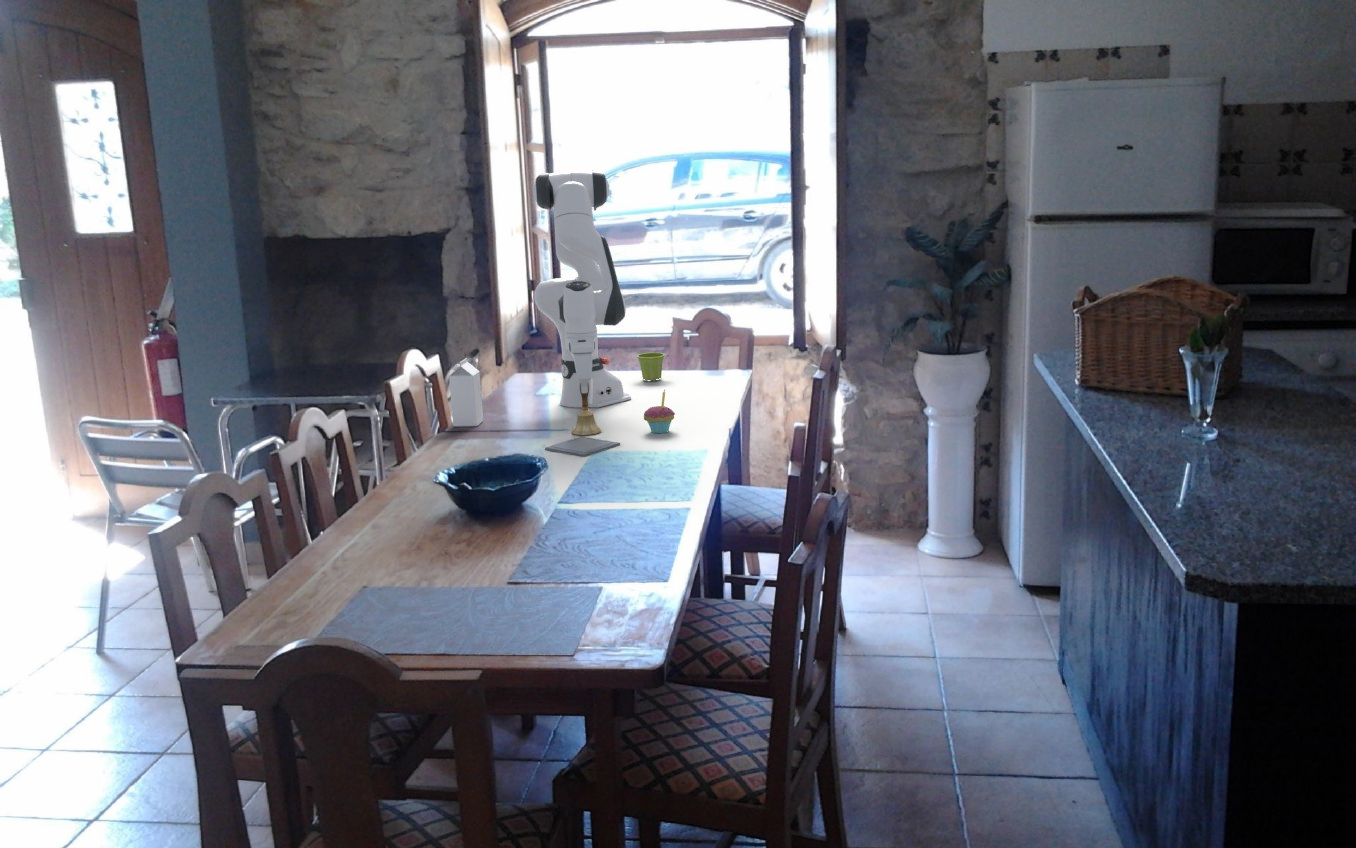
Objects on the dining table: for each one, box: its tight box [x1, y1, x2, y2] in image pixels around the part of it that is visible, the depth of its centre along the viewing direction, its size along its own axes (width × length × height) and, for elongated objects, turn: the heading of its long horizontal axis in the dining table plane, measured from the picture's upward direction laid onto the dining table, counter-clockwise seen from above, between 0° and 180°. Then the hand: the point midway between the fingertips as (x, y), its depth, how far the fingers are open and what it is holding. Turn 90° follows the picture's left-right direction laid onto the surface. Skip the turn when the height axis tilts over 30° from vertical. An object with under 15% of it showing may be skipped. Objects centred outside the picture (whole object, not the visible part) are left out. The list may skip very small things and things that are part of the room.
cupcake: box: [643, 389, 676, 434], centre depth 320 cm, size 9×8×12 cm
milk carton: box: [448, 357, 484, 427], centre depth 337 cm, size 7×7×19 cm
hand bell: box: [571, 383, 602, 436], centre depth 322 cm, size 8×8×16 cm
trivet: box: [544, 435, 621, 458], centre depth 307 cm, size 14×14×1 cm
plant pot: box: [636, 352, 665, 381], centre depth 394 cm, size 9×9×9 cm
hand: (584, 391), depth 321 cm, fingers closed on hand bell, 3 cm apart
